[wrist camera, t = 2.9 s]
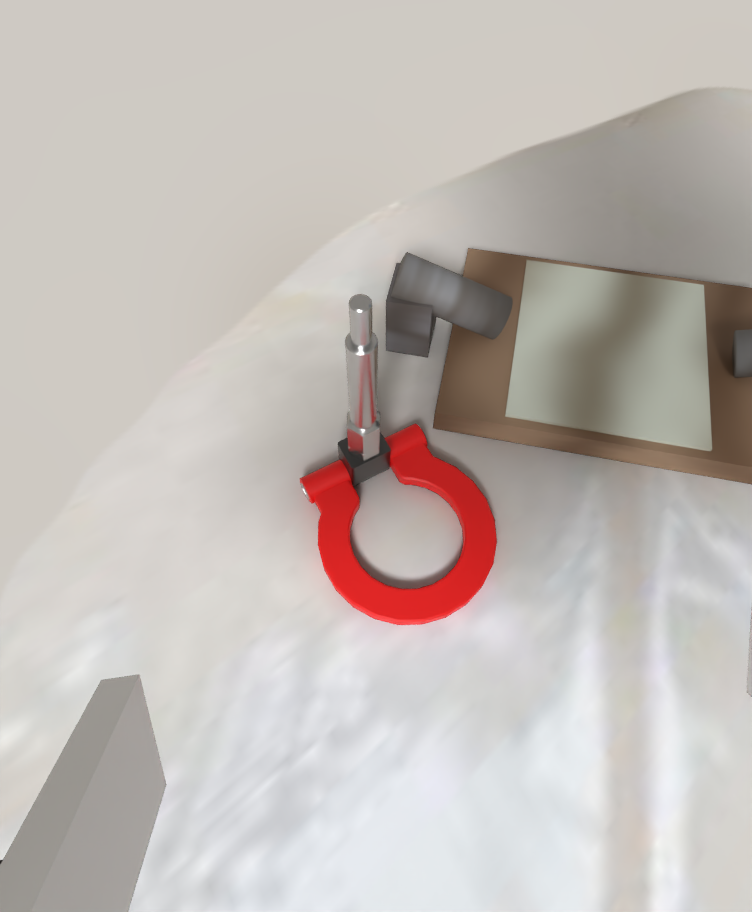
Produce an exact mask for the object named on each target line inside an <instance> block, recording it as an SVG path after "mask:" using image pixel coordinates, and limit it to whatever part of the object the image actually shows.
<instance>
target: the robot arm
mask: <svg viewBox="0 0 752 912" xmlns="http://www.w3.org/2000/svg"><path fill="white" fill-rule="evenodd" d="M747 693H748V694H749V695H750V696H751V697H752V609H751V626H750V643H749V660H748V677H747ZM165 787H166V781H165V777H164V773H163V769H162V765H161V761H160V757H159V753H158V748H157V744H156V740H155V736H154V732H153V728H152V724H151V720H150V716H149V712H148V708H147V704H146V700H145V695H144V691H143V687H142V683H141V679H140V675H132V676H125V677H119V678H112V679H105V680H101V681H100V683H99V685H98V687H97V689H96V691H95V692H94V694H93V696H92V698H91V700H90V702H89V703H88V705H87V707H86V709H85V711H84V713H83V714H82V716H81V718H80V720H79V722H78V724H77V725H76V727H75V729H74V731H73V733H72V734H71V736H70V738H69V740H68V742H67V744H66V745H65V747H64V749H63V751H62V753H61V755H60V756H59V758H58V760H57V762H56V764H55V766H54V767H53V769H52V771H51V773H50V775H49V777H48V778H47V780H46V782H45V784H44V786H43V788H42V789H41V791H40V793H39V795H38V797H37V799H36V800H35V802H34V804H33V806H32V808H31V810H30V811H29V813H28V815H27V817H26V819H25V820H24V822H23V824H22V826H21V828H20V830H19V831H18V833H17V835H16V837H15V839H14V841H13V842H12V844H11V846H10V848H9V850H8V852H7V853H6V855H5V857H4V859H3V860H0V912H128V910H129V907H130V903H131V900H132V897H133V893H134V890H135V887H136V883H137V880H138V877H139V874H140V870H141V867H142V864H143V860H144V857H145V854H146V850H147V847H148V844H149V840H150V837H151V834H152V830H153V827H154V824H155V820H156V817H157V814H158V810H159V807H160V804H161V801H162V797H163V794H164V791H165Z"/></svg>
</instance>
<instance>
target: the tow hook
mask: <svg viewBox="0 0 752 912" xmlns="http://www.w3.org/2000/svg"><path fill="white" fill-rule="evenodd" d="M349 317H350V333H349V334H348V335H347V337H346V339H345V348H346V363H347V378H348V394H349V409H350V411H349V412H348V414H347V437H348V438H346V439H344V440H342V441H339V442H338V452H339V460H338V461H336V462H333V463H331V464H329V465H327V466H325V467H323V468H321V469H319V470H317V471H315V472H313V473H310V474H308V475H306V476H304V477H302V478H300V483H301V487H302V489H303V492H304V494H305V496H306V497H307V499H308V500H309V501H310V502H311V503H314V502H315V503H316V505H317V507H318V509H319V511H320V512H321V516H320V519H319V524H318V547H319V551H320V554H321V558H322V562H323V566H324V570H325V572H326V574H327V575H328V577H329V579H330V581H331V582H332V584H333V586H334V588H335V589H336V591H337V592H338V593H339V594H340V595H341V596H342V597H343V598H344V599H345V600H346V601H347V602H348V603H350V604H351V605H352V606H353V607H354V608H356V609H357V610H359V611H361V612H363V613H365V614H366V615H368V616H370V617H372V618H374V619H377V620H381V621H385V622H389V623H393V624H397V625H415V624H425V623H429V622H432V621H436V620H439V619H442V618H446V617H447V616H449V615H451V614H452V613H454V612H455V611H457V610H459V609H460V608H462V607H463V606H465V605H466V604H467V603H468V602H469V601H470V600H471V599H472V597H473V596H474V595H475V594H476V593H477V592H478V591H479V590H480V589H481V587H482V586H483V584H484V582H485V580H486V578H487V576H488V573H489V571H490V569H491V567H492V565H493V562H494V556H495V550H496V544H497V538H496V529H495V520H494V517H493V515H492V512H491V510H490V507H489V505H488V502H487V499H486V498H485V497H484V495H483V494H482V492H481V491H480V490H479V488H478V487H477V486H476V484H475V483H474V482H473V481H472V480H471V479H470V478H469V477H468V476H466V475H465V474H464V473H463V472H461V471H460V470H459V469H458V468H457V467H455V466H453V465H451V464H449V463H447V462H445V461H443V460H441V459H438V458H436V457H433V455H432V454H431V452H430V451H429V449H428V448H427V441H426V438H425V435H424V433H423V431H422V430H421V428H420V427H419V426H418V425H417V424H413V425H411V426H409V427H407V428H405V429H403V430H401V431H398V432H396V433H394V434H392V435H390V436H388V437H386V438H384V437H383V435H382V434H381V432H380V413H379V411H377V370H378V340H377V337H376V335H375V334H374V333H373V332H372V301H371V299H370V298H369V297H368V296H367V295H364V294H357V295H354V296H353V297H352V298H351V299H350V300H349ZM389 467H391V469H392V470H393V472H394V473H395V475H396V477H397V478H398V480H399V482H401V483H403V484H405V485H416V486H420V487H424V488H427V489H429V490H431V491H433V492H435V493H437V494H439V495H440V496H441V497H442V498H443V499H445V500H446V501H447V502H448V503H449V504H450V505H451V507H452V508H453V510H454V511H455V512H456V514H457V516H458V518H459V521H460V524H461V526H462V532H463V547H462V552H461V556H460V558H459V560H458V562H457V564H456V566H455V567H454V568H453V569H452V570H451V571H450V572H449V573H448V574H447V575H446V576H445V577H444V578H442V579H440V580H439V581H437V582H435V583H434V584H432V585H428V586H425V587H421V588H418V589H400V588H396V587H392V586H388V585H385V584H383V583H382V582H380V581H378V580H376V579H374V578H373V577H371V576H370V575H369V574H368V573H367V572H366V571H365V570H364V569H363V568H362V567H361V565H360V564H359V562H358V561H357V559H356V557H355V556H354V554H353V550H352V547H351V543H350V529H351V525H352V522H353V518H354V516H355V514H356V512H357V511H358V509H359V506H360V501H359V496H358V494H357V492H356V491H355V489H354V487H353V486H355V485H357V484H359V483H361V482H363V481H365V480H367V479H369V478H371V477H373V476H375V475H377V474H379V473H381V472H383V471H386V470H388V469H389Z"/></svg>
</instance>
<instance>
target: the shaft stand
mask: <svg viewBox="0 0 752 912" xmlns="http://www.w3.org/2000/svg"><path fill="white" fill-rule="evenodd" d="M436 317H439V318H441V319H444V320H446V321H448V322H451V323H453V326H452V331H451V336H450V341H449V346H448V351H447V356H446V361H445V366H444V371H443V376H442V381H441V386H440V391H439V395H438V400H437V405H436V410H435V417H434V425H433V428H434V429H440V430H445V431H451V432H457V433H463V434H468V435H474V436H480V437H485V438H491V439H497V440H503V441H508V442H514V443H520V444H525V445H531V446H537V447H543V448H548V449H554V450H560V451H565V452H571V453H577V454H583V455H588V456H594V457H600V458H605V459H611V460H617V461H623V462H628V463H634V464H640V465H645V466H651V467H657V468H663V469H668V470H674V471H680V472H685V473H691V474H697V475H703V476H708V477H714V478H720V479H725V480H731V481H737V482H743V483H748V484H752V288H748V287H741V286H734V285H726V284H719V283H712V282H705V281H698V280H691V279H684V278H677V277H670V276H662V275H655V274H648V273H641V272H634V271H627V270H620V269H613V268H606V267H598V266H591V265H584V264H577V263H570V262H563V261H556V260H549V259H542V258H534V257H527V256H520V255H513V254H506V253H499V252H492V251H485V250H477V249H470V248H468V253H467V257H466V262H465V267H464V272H463V276H461V275H459V274H456V273H454V272H452V271H449V270H447V269H445V268H443V267H440V266H438V265H436V264H433V263H431V262H429V261H426V260H424V259H422V258H419V257H417V256H415V255H413V254H410V253H408V252H407V253H406V254H405V256H404V257H403V259H402V261H401V263H396V267H395V271H394V274H393V278H392V281H391V285H390V289H389V292H388V296H387V300H386V351H392V352H398V353H404V354H411V355H417V356H423V357H428V353H429V348H430V344H431V339H432V335H433V330H434V326H435V321H436Z"/></svg>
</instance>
